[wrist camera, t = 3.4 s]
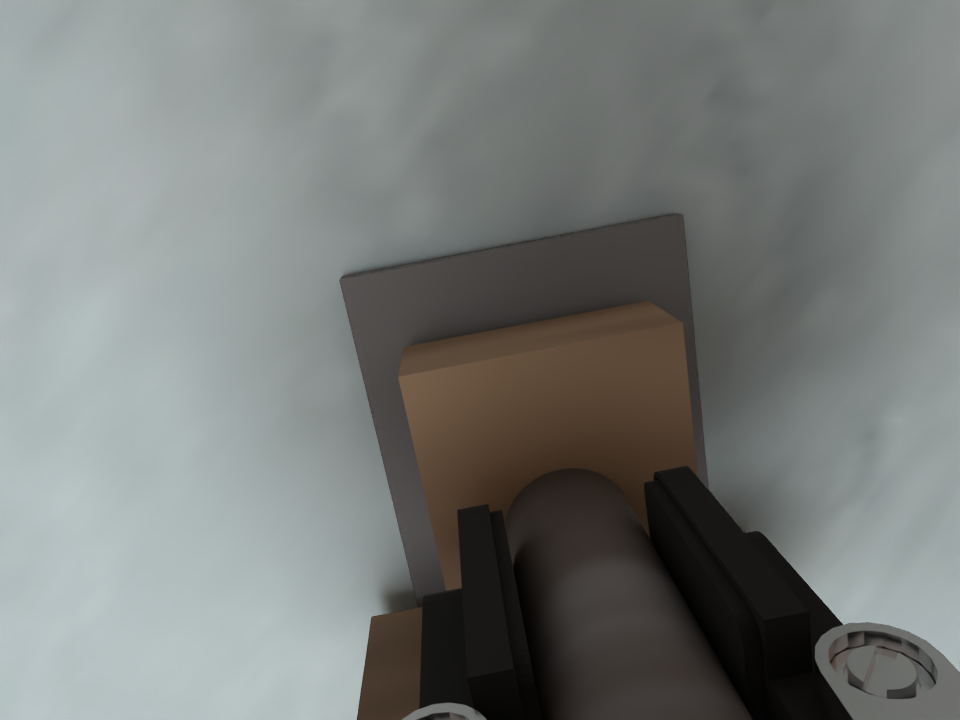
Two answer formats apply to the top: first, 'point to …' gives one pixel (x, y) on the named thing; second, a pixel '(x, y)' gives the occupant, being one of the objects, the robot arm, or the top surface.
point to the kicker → (562, 510)
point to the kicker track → (499, 304)
